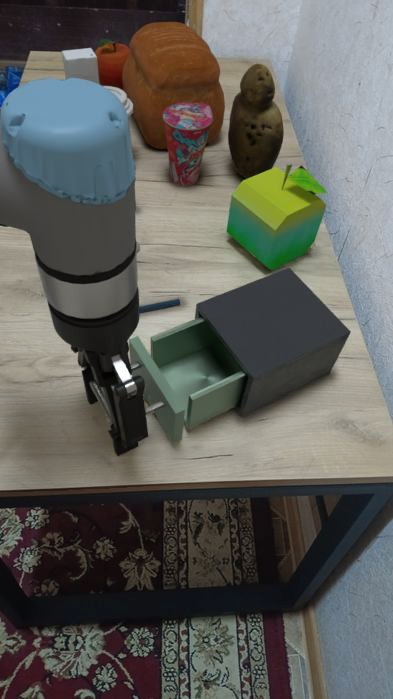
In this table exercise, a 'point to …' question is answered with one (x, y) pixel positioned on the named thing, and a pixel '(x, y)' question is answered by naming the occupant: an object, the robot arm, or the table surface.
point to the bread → (170, 77)
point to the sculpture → (255, 124)
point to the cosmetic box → (81, 64)
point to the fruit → (111, 62)
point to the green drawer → (184, 377)
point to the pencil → (159, 305)
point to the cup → (186, 139)
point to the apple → (276, 215)
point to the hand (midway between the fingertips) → (112, 422)
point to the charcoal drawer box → (275, 336)
